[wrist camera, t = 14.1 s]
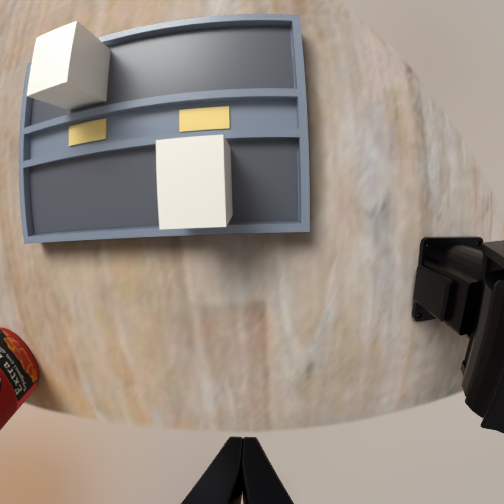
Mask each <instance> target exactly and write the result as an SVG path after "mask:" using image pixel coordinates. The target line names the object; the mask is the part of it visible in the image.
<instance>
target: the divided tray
mask: <svg viewBox="0 0 504 504" xmlns="http://www.w3.org/2000/svg"><path fill="white" fill-rule="evenodd" d="M98 39H99V40H100V41H101V42H102V43H103V44H105V45H106V46H107V47H108V48H109V49H110V50H111V53H110V62H109V73H108V85H107V101H106V102H102V103H98V104H93V105H89V106H85V107H81V108H77V109H73V110H67V109H64V108H61V107H58V106H55V105H52V104H49V103H46V102H43V101H40V100H37V99H34V98H31V97H28V96H27V89H28V82H29V75H30V69H31V63H32V62H31V63H29V64H28V65H27V70H26V76H25V83H24V90H23V99H22V108H21V120H20V136H19V189H20V206H21V218H22V228H23V236H24V244H27V243H43V242H59V241H76V240H95V239H114V238H136V237H158V236H183V235H211V234H243V233H280V232H310V176H309V142H308V119H307V100H306V84H305V70H304V57H303V46H302V35H301V25H300V16H299V15H282V14H242V15H222V16H210V17H199V18H191V19H183V20H176V21H169V22H163V23H158V24H152V25H147V26H142V27H138V28H133V29H129V30H125V31H121V32H117V33H113V34H109V35H106V36H102V37H99V38H98ZM208 135H224V137H225V138H226V140H227V142H228V144H229V146H230V148H231V175H232V206H233V216H232V218H231V219H230V221H229V223H228V225H227V227H209V228H184V229H161V230H160V229H159V215H158V197H157V174H156V140H162V139H172V138H182V137H194V136H208Z"/></svg>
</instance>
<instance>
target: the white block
mask: <svg viewBox="0 0 504 504" xmlns="http://www.w3.org/2000/svg"><path fill="white" fill-rule="evenodd" d="M156 174H157V197H158V215H159V229H160V230H161V229H184V228H209V227H227V225H228V223H229V221H230V219H231V218H232V216H233V206H232V175H231V148H230V146H229V144H228V142H227V140H226V138H225V137H224V135H208V136H194V137H182V138H172V139H162V140H156Z"/></svg>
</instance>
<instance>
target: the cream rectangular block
mask: <svg viewBox="0 0 504 504" xmlns="http://www.w3.org/2000/svg"><path fill="white" fill-rule="evenodd" d="M110 53H111V50H110V49H109V48H108V47H107V46H106V45H105V44H103V43H102V42H101V41H100V40H99V39H98V38H97V37H95V36H94V35H93V34H92V33H91V32H90V31H88V30H87V29H86V28H85V27H84V26H82V25H81V24H80V23H79V22H78V21H75V22H73V23H70V24H67V25H65V26H62V27H60V28H57V29H55V30H52V31H50V32H48V33H46V34H43V35H41V36H39V37H37V39H36V43H35V48H34V53H33V58H32V63H31V69H30V75H29V82H28V89H27V96H28V97H31V98H34V99H37V100H40V101H43V102H46V103H49V104H52V105H55V106H58V107H61V108H64V109H67V110H73V109H77V108H81V107H85V106H89V105H93V104H98V103H102V102H106V101H107V85H108V73H109V62H110Z"/></svg>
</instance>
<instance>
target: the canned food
mask: <svg viewBox="0 0 504 504" xmlns="http://www.w3.org/2000/svg"><path fill="white" fill-rule="evenodd" d="M38 380H39V371H38V366H37V364H36V361H35V359H34V357H33V355H32V353H31V352H30V350H29V348H28V347H27V346H26V344H25V343H24V342H23V341H22V340H21V339H20V338H19V337H18V336H17V335H16V334H15V333H13V332H12V331H10V330H8V329H5V328H0V430H1V429H2V428H3V426H4V425H5V424H6V423H7V421H8V420H9V419H10V418H11V417H12V415H13V414H14V413H15V412H16V411H17V410H18V409H19V407H20V406H21V405H22V404H23V403H24V402H25V400H26V399H27V398H28V397H29V396H30V395H31V394H32V393H33V391H34V390H35V388H36V386H37V384H38Z"/></svg>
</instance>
